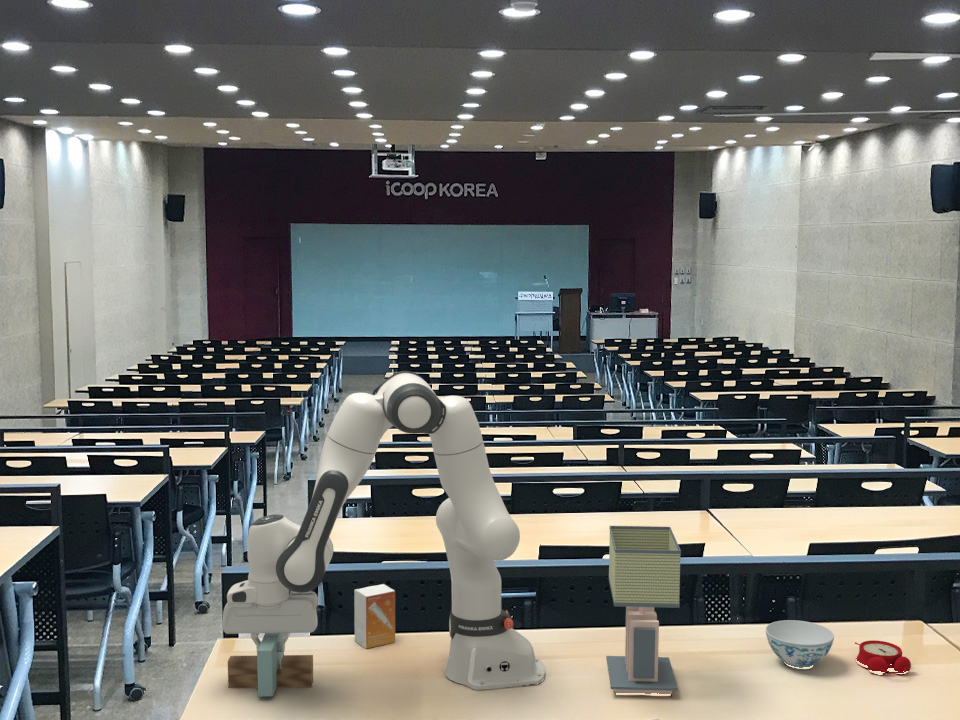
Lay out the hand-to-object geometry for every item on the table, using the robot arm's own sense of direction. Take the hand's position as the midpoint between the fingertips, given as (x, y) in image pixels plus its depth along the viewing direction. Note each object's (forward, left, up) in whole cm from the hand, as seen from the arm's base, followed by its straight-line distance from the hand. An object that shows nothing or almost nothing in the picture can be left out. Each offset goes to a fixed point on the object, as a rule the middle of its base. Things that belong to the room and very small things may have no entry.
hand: (270, 651), depth 230 cm
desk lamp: (-81, +1, -8) cm, 81 cm away
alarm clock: (-138, -6, -8) cm, 138 cm away
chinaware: (-119, -8, -8) cm, 119 cm away
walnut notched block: (0, 0, -8) cm, 8 cm away
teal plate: (0, 0, -7) cm, 7 cm away
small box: (-21, -24, -8) cm, 33 cm away
